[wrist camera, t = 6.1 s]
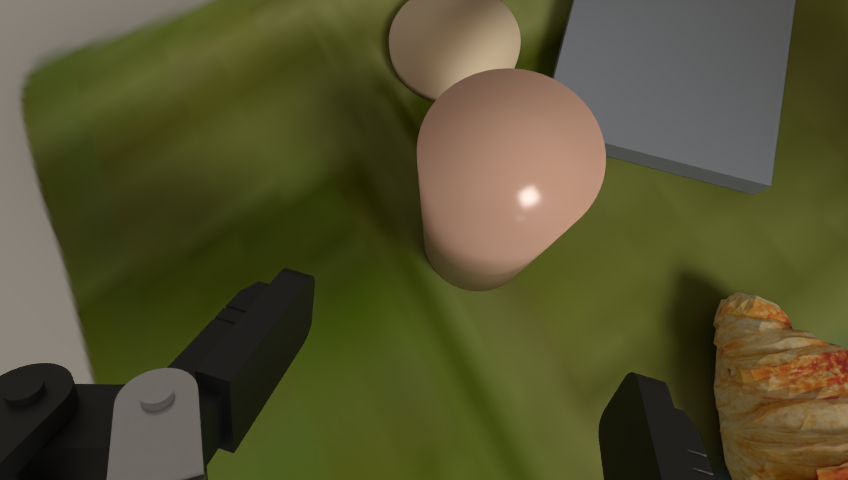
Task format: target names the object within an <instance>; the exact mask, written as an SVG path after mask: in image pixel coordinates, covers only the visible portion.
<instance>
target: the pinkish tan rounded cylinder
mask: <svg viewBox="0 0 848 480" xmlns="http://www.w3.org/2000/svg"><path fill="white" fill-rule="evenodd" d="M417 166H418V178H419V190H420V202H421V214H422V226H423V238H424V247H425V251H426V255H427V258H428V260H429V262H430V264H431V265H432V267H433V268H434V270H435V271H436V272H437V273H438V274H439V275H440V276H441V277H442V278H443V279H444V280H446V281H447V282H448V283H450V284H452V285H454V286H456V287H458V288H461V289H465V290H469V291H487V290H492V289H495V288H498V287H500V286H502V285H504V284H506V283H508V282H509V281H511V280H512V279H513V278H514V277H515V276H516V275H517V274H519V273H520V272H521V271H522V270H523V269H524V268H525V267H526V266H527V265H529V264H530V263H531V262H532V261H533V260H534V259H535V258H536V257H537V256H539V255H540V254H541V253H542V252H543V251H544V250H545V249H546V248H547V247H549V246H550V245H551V244H552V243H553V242H554V241H555V240H556V239H557V238H559V237H560V236H561V235H562V234H563V233H564V232H565V231H566V230H567V229H568V228H570V227H571V226H572V225H573V224H574V223H575V222H576V221H577V220H578V219H580V218H581V217H582V216H583V214H584V213H585V212H586V211H587V210H588V209H589V208H590V206H591V205H592V203H593V202H594V200H595V199H596V197H597V195H598V192H599V190H600V188H601V185H602V182H603V179H604V174H605V167H606V150H605V143H604V139H603V136H602V132H601V129H600V127H599V125H598V122H597V120H596V119H595V117H594V115H593V114H592V112H591V110H590V109H589V108H588V107H587V105H586V104H585V103H584V102H583V100H582V99H581V98H579V97H578V96H577V95H576V94H575V93H574V92H573V91H572V90H570V89H569V88H568V87H566V86H565V85H563V84H562V83H560V82H558V81H557V80H555V79H553V78H550V77H548V76H546V75H543V74H540V73H537V72H534V71H529V70H523V69H513V68H504V69H493V70H487V71H483V72H479V73H476V74H473V75H471V76H469V77H466V78H464V79H462V80H460V81H459V82H457V83H455V84H454V85H452V86H451V87H450V88H448V89H447V90H446V91H445V92H444V93H443V94H442V95H441V96H440V97H439V98H438V99H437V100H436V101H435V102H434V104H433V105H432V106H431V107H430V109H429V111H428V113H427V114H426V116H425V118H424V120H423V123H422V125H421V128H420V132H419V136H418V142H417Z"/></svg>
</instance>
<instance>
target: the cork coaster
mask: <svg viewBox="0 0 848 480" xmlns="http://www.w3.org/2000/svg"><path fill="white" fill-rule="evenodd" d="M520 44H521V39H520V31H519V27H518V24H517V22H516V19H515V18H514V16H513V14H512V12H511V11H510V10H509V9H508V7H507V6H506V5H505V4H504V3H503V2H502V1H501V0H409V1H408V2H407V3H405V4H404V5H403V7H402V8H401V9H400V10H399V12H398V13H397V15H396V16H395V18H394V20H393V23H392V25H391V29H390V34H389V50H390V56H391V61H392V64H393V67H394V69H395V71H396V73H397V75H398V77H399V78H400V79H401V81H402V82H403V83H404V84H405V85H406V86H407V87H408V88H409V89H410V90H411V91H413V92H414V93H416V94H417V95H419V96H421V97H423V98H425V99H427V100H430V101H433V102H435V101H436V100H437V99H438V98H439V97H440V96H441V95H442V94H443V93H444V92H445V91H446V90H447V89H448V88H450V87H451V86H452V85H454V84H455V83H457V82H459V81H460V80H462V79H464V78H466V77H469V76H471V75H473V74H476V73H479V72H483V71H487V70H493V69H504V68H513V69H514V68H515V66H516V63H517V60H518V56H519V52H520Z"/></svg>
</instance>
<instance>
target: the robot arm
mask: <svg viewBox="0 0 848 480" xmlns="http://www.w3.org/2000/svg"><path fill="white" fill-rule="evenodd" d="M314 285H315V279H314V277H313V276H310V275H307V274H304V273H300V272H297V271H294V270H290V269H287V268H285V269H283V270H282V271H281V272H280V273H279V274H278V275H277V276H276V277H275V279H274V280H273V281H272V282H271V283H270V284H266V283H262V282H257V283H255V284H253V285H251V286H249V287H247V288H245V289H243V290H241V291H239V292H238V294H237V295H236V296H235V297H234V298H233V299H232V300H231V301H230V302H229V303H228V304H227V305H226V308H223V309H222V311H221V312H220V313H219V314H218V315H217V316H216V318H215V320H212V321H211V322H210V323H209V324H208V325H207V326H206V327H205V329H204V330H203V331H202V332H201V333H200V334H199V335H198V336H197V337H196V338H195V339H194V340H193V341H192V342H191V343H190V344H189V345H188V347H187V348H186V349H185V350H184V351H183V352H182V353H181V354H180V355H179V356H178V357H177V358H176V359H175V360H174V361H173V362H172V363H171V364H170V365H169V366H168V367H167V368H160V369H155V370H151V371H148V372H145V373H143V374H141V375H139V376H137V377H135V378H134V379H132V380H131V381H129V382H128V383H127V384H122V385H104V384H75V383H74V380H73V377H72V375H71V373H70V372H69V371H68V370H67V369H66V368H64V367H62V366H60V365H57V364H51V363H39V364H31V365H27V366H23V367H19V368H17V369H14V370H11V371H9V372H7V373H5V374H3V375H1V376H0V480H208V474H207V464H208V463H209V462H210V460H211V459H212V457H213V456H214V454H215V453H216V451H217V450H218V448H220V449H223V450H226V451H228V452H231V453H234V452H235V451H236V449H237V448H238V446H239V444H240V443H241V441H242V440H243V438H244V437H245V435H246V433H247V432H248V430H249V429H250V427H251V426H252V424H253V422H254V421H255V419H256V418H257V416H258V415H259V413H260V411H261V410H262V408H263V407H264V405H265V404H266V402H267V400H268V399H269V397H270V396H271V394H272V393H273V391H274V389H275V388H276V386H277V385H278V383H279V382H280V380H281V378H282V377H283V375H284V374H285V372H286V371H287V369H288V367H289V366H290V364H291V363H292V361H293V360H294V358H295V356H296V355H297V353H298V352H299V350H300V349H301V347H302V345H303V344H304V342H305V340H306V338H307V336H308V333H309V330H310V326H311V322H312V311H313V298H314ZM599 443H600V451H601V459H602V467H603V475H604V480H716V479H715V478H713V471H712V468H711V465H710V462H709V459H707V458H706V456H707V453H706V450H705V448H704V445H703V442H702V439H701V436H700V433H699V431H698V430H697V429H696V427H695V426H694V425H693V423H692V422H691V420H690V419H689V418H688V416H687V415H686V413H685V412H684V411H683V410H679V409H676V408H674V405H673V402H672V399H671V395H670V392H669V389H668V386H667V385H666V383H665V382H663V381H660V380H656V379H653V378H650V377H646V376H643V375H640V374H636V373H633V372H631V373H629V374H627V375H626V377H625V378H624V380H623V381H622V383H621V384H620V386H619V388H618V389H617V391H616V392H615V394H614V395H613V397H612V399H611V400H610V402H609V403H608V405H607V407H606V408H605V410H604V411H603V414H602V416H601V419H600V424H599Z"/></svg>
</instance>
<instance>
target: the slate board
mask: <svg viewBox="0 0 848 480" xmlns="http://www.w3.org/2000/svg"><path fill="white" fill-rule="evenodd" d="M795 1H796V0H572V2H571V6H570V10H569V14H568V17H567V21H566V25H565V29H564V33H563V36H562V40H561V44H560V48H559V51H558V55H557V59H556V63H555V67H554V70H553V74H552V78H553V79H555V80H557V81H558V82H560V83H562V84H563V85H565V86H566V87H568V88H569V89H570V90H572V91H573V92H574V93H575V94H576V95H577V96H578V97H579V98H581V99H582V100H583V102H584V103H585V104H586V105H587V107H588V108H589V109H590V110H591V112H592V114H593V115H594V117H595V119H596V120H597V122H598V125H599V127H600V129H601V132H602V136H603V139H604V143H605V150H606V156H608V157H612V158H616V159H619V160H623V161H627V162H631V163H635V164H638V165H642V166H646V167H650V168H654V169H658V170H661V171H665V172H669V173H673V174H677V175H680V176H684V177H688V178H692V179H696V180H700V181H703V182H707V183H711V184H715V185H719V186H722V187H726V188H730V189H734V190H738V191H742V192H745V193H749V194H753V195H754V194H756V193H758V192H760V191H762V190H764V189H766V188H768V187H770V186H771V182H772V175H773V167H774V160H775V152H776V145H777V137H778V129H779V122H780V114H781V107H782V99H783V92H784V84H785V77H786V69H787V61H788V54H789V46H790V39H791V31H792V24H793V16H794V8H795Z"/></svg>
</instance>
